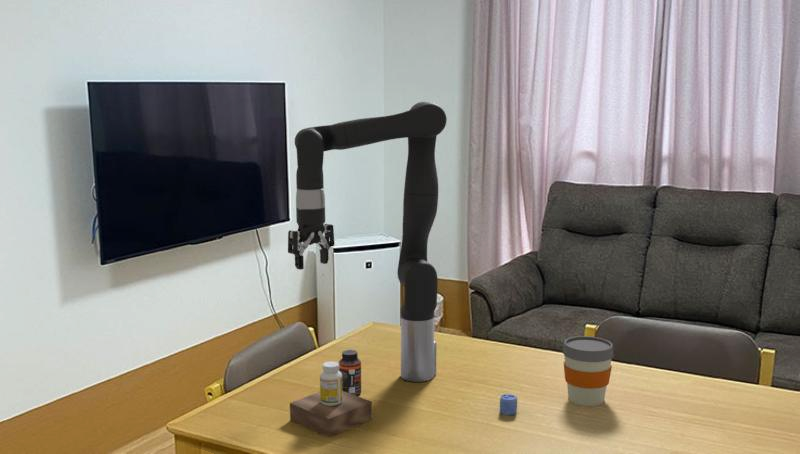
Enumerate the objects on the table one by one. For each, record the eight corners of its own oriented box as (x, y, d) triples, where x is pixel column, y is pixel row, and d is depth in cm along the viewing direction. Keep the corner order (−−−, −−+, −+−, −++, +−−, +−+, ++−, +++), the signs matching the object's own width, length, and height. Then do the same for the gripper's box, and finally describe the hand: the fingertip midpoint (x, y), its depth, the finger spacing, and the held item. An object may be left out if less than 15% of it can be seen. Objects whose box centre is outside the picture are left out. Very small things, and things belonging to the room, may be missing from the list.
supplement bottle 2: (358, 398, 215) (357, 356, 213) (336, 396, 216) (335, 355, 214) (363, 389, 221) (363, 349, 219) (342, 388, 222) (341, 347, 220)
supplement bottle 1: (331, 408, 197) (330, 369, 196) (315, 402, 201) (314, 364, 199) (347, 401, 201) (346, 363, 200) (331, 396, 205) (330, 358, 203)
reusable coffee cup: (615, 394, 217) (618, 339, 214) (605, 412, 206) (608, 354, 203) (567, 387, 222) (569, 333, 219) (556, 404, 211) (557, 347, 208)
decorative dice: (515, 415, 204) (516, 400, 203) (499, 414, 204) (499, 399, 204) (517, 409, 208) (517, 394, 207) (501, 408, 208) (501, 393, 208)
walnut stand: (332, 403, 211) (332, 387, 211) (372, 419, 202) (371, 401, 201) (290, 420, 201) (289, 403, 200) (329, 437, 192) (328, 419, 191)
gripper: (321, 201, 224) (322, 259, 227) (280, 207, 214) (282, 268, 217) (340, 203, 219) (341, 263, 222) (299, 210, 209) (301, 273, 212)
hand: (312, 266), depth 219 cm, fingers open, 8 cm apart
